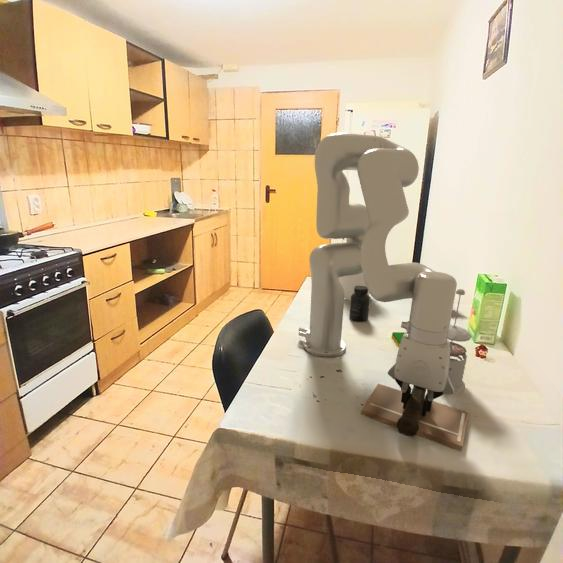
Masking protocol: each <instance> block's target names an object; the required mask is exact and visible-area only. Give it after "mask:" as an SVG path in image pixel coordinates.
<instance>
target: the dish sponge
mask: <svg viewBox="0 0 563 563" xmlns="http://www.w3.org/2000/svg"><path fill="white" fill-rule="evenodd" d="M406 332H407V331H405V332H403V331H402V332H401V331H400V332H399V331H398V332H397V331H396V332H395V331H393V332H392V334H391V339H392V341H393V340H394V341H393V342H394V343H396V344H395V345H396V347H398V349H399V346H400V342H401V339H402V337H403V335H404V334H405V333H406Z"/></svg>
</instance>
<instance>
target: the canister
mask: <svg viewBox="0 0 563 563" xmlns="http://www.w3.org/2000/svg"><path fill="white" fill-rule="evenodd" d="M339 281H340V283H341V285H342V287H343V289H344V298H345V299H344V300H348V299H349V301H350V300H351V295H352V294H353V293H354V287H355V286H365V287H367V286H366V283H365V280H364V276H363V272H362V273H360V274H355V275H348V276H343V277H339ZM368 295H369V296H370V295H371V294H370V293H369V291H368Z"/></svg>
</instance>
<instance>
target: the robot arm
mask: <svg viewBox="0 0 563 563" xmlns="http://www.w3.org/2000/svg"><path fill="white" fill-rule="evenodd" d="M314 153H315V154H314V172H315V177H316V185H317V195H316V220H315V221H316V224H315V225H316V232H317V235H318V236H319V238H321V239H324V240H340V239H341V240H342V239H346V242H337V243H336V242H335V243H334V242H333V243H326V244H319V245H318V246H316V247H314V248H313V249H312V250H311V252H310V255H309V260H308V263H309V270H310V279H311V281H310V282H311V288H310V290H311V292H310V294H311V296H310V298H311V299H310V315H309V328H307V327H303V326H300V327H299V328H298V336H299V337H303V338H305V339H304V341H303V347H304V348H303V349H305V351H307V352H308V353H309V354H312V355H314V356H317V357H325V358H326V357H327V358H328V357H329V358H330V357H337V356H340V355H342V354H343V353H344V352H346V350H347V349H346V348H347V345H346V343H345V341H344V340H342V333H343V332H342V330H343V320H344V318H343V317H344V306H345V299H344V289H343V287H342V285H341V283H340V281H339V277H343V276H348V275H355V274H360V273H362V272H363V276H364V280H365V283H366V286H367V289H368V291H369V293H370V294H369V295H370V296H371V297H372V298H373V299H374V300H375V301H377V302H381V303H390V302H395V301H401V300H407V299H409V300H410V299H411V305H410V312H409V313H410V314H409V320H408V321H401V324H400V327H401V328H402V329H404V330H405V332H406V333H405V334H404V335H403V337H402V339H401V342H400V346H399V348H398V350H397V354H396V358H395V359H396V360H395V363H394V364H393V366H391V367H390V368H389V369H388V371H387V375H388V376H389V377H391V378H392V379H393V380H394V381H395V382H396V384H397V385H398V386H399V388H400V391H402V398H401V402H402V403H404V404H403V409H405V407H406V404H407V402H408V399H409V397H410V395H411V392H412V388H411V386H410V385H412V386H414V385H415V386H418V387H421V388H424V389H426V393H425V399H424V403H423V409H422V416H425V415H426V412H427V411H428V412H430V410H431V406H432V401H434V400H435V399H437V398H440V397H442V396H448V395H449V396H450V395H454V394H455V393H454V387H453V385H452V383H451V380H450V378H449V376H448V373H449V365H450V358H451V357H450V342H451V341H449V339H447V338H448V332H449V326H450V325H451V320H452V315H453V308H454V303H455V299H456V298H455V297H456V291H457V285H458V284H457V283H458V282H457V280H456V278H455V277H454V276H453V275H450V274H448V273H444V272H440V271H437V272H435V271H436V270H435V271H433V270H434V269H432V268H430V267H428V266H426V265H424V264H423V263H420V262H405V263H396V264H389V262H388V258H387V252H386V242H387V238H388V236H389V234H390V232H391V231H392V229H393V228H394V227H395V226H397V225H399V224H400V223H402V222H404V221H405V220H406V219H407V218H408V216H409V213H410V210H409V206H408V204H407V198H406V196H405V192H404V191H405V190H404V188H407V187H409V186H411V185H413V184H414V183H415V181H416V180H417V178H418V175H419V169H420V168H419V161H418V159H417V157H416V155H415V154H414V153H413V152H412V151H411V150H410V149H407V148H405V147H403V146H401V145H399V144H398V143H395V142H393V141H391V140H389V139H387V138H385V137H382V136H378V135H370V134H361V133H360V134H359V133H353V132H351V133H350V132H336V133H331V134H328V135H326V136H325V137H323V138H322V139H321V141H320V142H319V143H318V145H317V147H316V150H315V152H314ZM343 171H357V177H358V180H359V184H360V189H361V194H362V196H363V200H364V204H361V203H350V194H351V193H350V192H351V190H350V185H349V183H350V182H349V181H348V178H347V176H346V175H345V173H344V172H343Z"/></svg>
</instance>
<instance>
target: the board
mask: <svg viewBox="0 0 563 563" xmlns="http://www.w3.org/2000/svg"><path fill="white" fill-rule="evenodd" d="M401 398H402V391H401V389H400V390H399V389H396V388H393V387H391V386H387V385H384V384H381V383H377V384H376V386H375V388H374V389H373V390H372V392H371V394H370V396H369V397H368V399H367V401H366V402H365V403H364V405H363V407H362V409H361V410H360V412H361V413H360V414H361V415H362V416H365V417H367V418H370V419H373V420H375V421H378V422H380V423H383V424H387V425H389V426H392V427H394V428H396V427H397V421H398V420H399V418H400V417H402V414H403V412H404V409H403V404H404V403H402V402H401ZM424 399H425V398H424ZM423 403H424V402H423ZM422 409H423V406H422ZM420 416H421V417H420V419H419V422H418V425H419V430H418V431H417V434H416V436H418V437H421V438H424V439H425V440H426V439H427V440H428V441H432V442H434V443H437V444H440V445H442V446H445V447H447V448H451V449H453V450H456V451H459V452H462V450H463V445H464V441H465V440H464V439H465V434H466V427H467V422H468V416H469V412H468V411H465V410H462V409H460V408H456V407H452V406H449V405H446V404H444V403H440V402H437V401H434V400H433V401H432V406H431V410H430V412H428V411H427V412H426V415H425V416H422V413H421V415H420Z"/></svg>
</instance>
